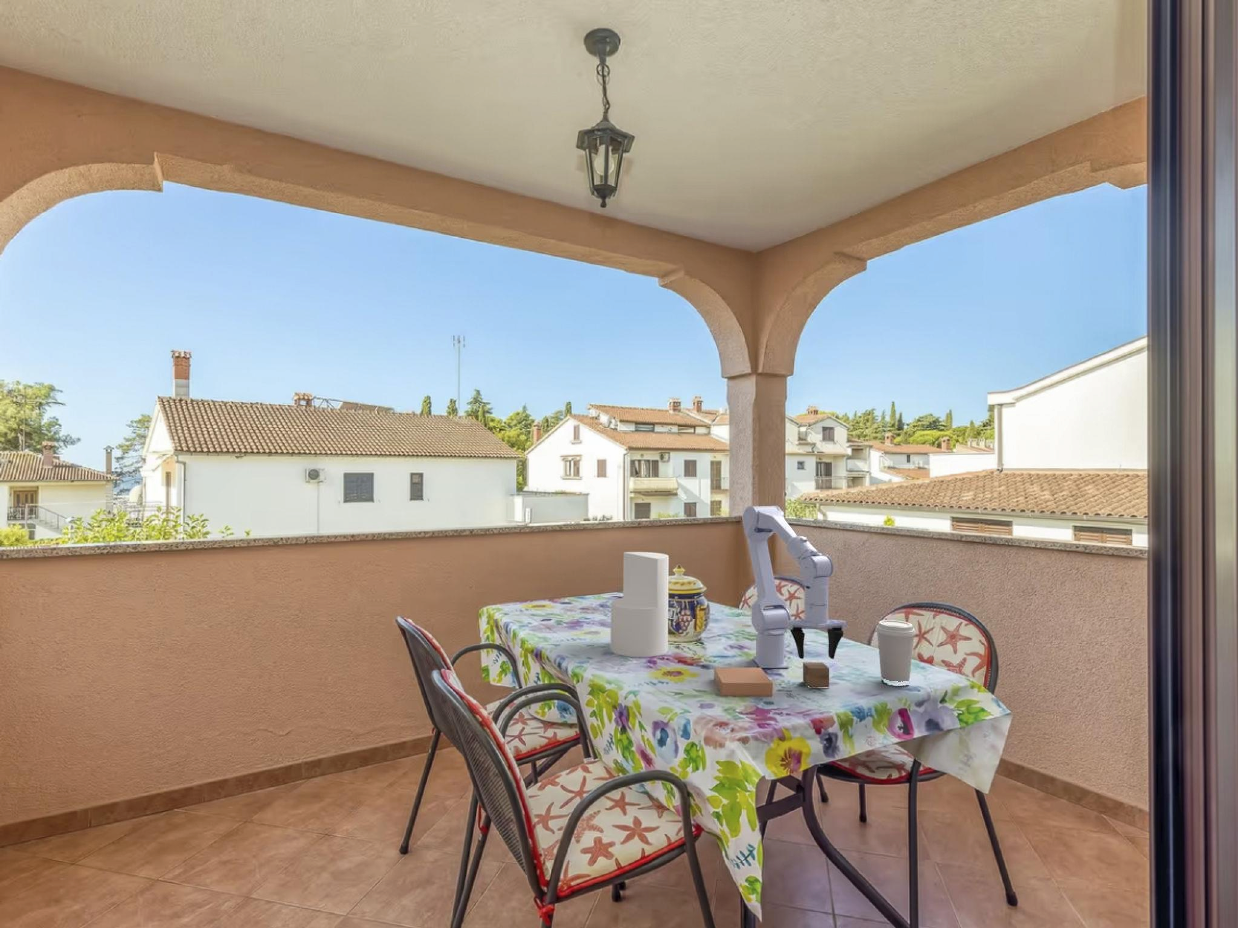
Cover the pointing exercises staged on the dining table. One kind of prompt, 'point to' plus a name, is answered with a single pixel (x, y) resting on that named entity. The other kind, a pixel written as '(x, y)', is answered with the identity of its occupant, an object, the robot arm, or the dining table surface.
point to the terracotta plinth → (743, 682)
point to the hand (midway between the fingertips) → (816, 657)
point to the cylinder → (641, 607)
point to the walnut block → (815, 674)
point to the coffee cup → (895, 649)
